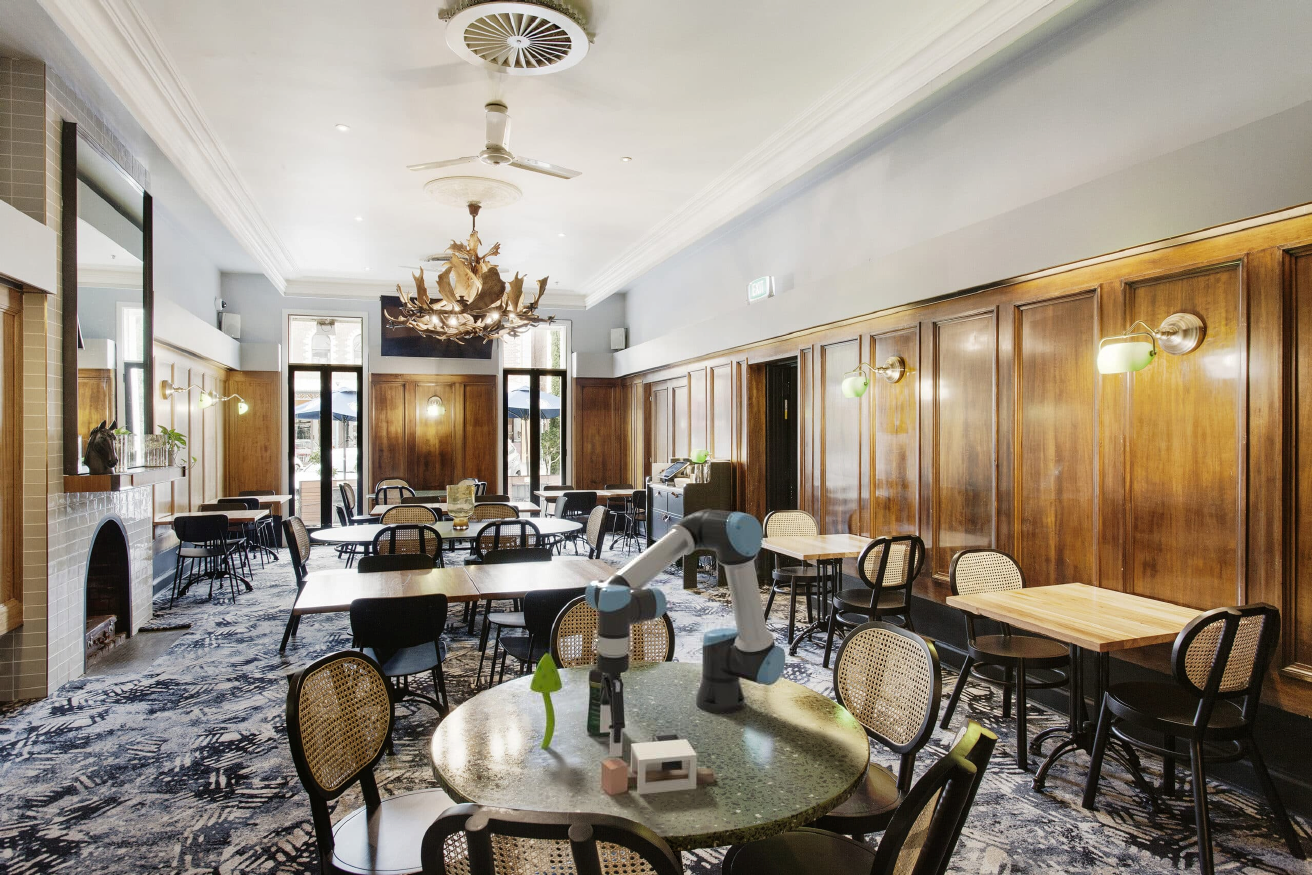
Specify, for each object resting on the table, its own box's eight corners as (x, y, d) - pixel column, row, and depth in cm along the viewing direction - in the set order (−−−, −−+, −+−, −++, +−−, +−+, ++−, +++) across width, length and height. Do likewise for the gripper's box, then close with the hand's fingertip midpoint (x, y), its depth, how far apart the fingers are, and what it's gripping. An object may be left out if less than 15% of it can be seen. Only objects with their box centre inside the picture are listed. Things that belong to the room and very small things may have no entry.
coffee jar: (607, 740, 193) (608, 672, 193) (582, 734, 196) (583, 667, 196) (624, 727, 202) (625, 662, 202) (600, 722, 205) (601, 658, 205)
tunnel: (679, 760, 182) (679, 729, 182) (696, 788, 167) (696, 754, 167) (625, 764, 179) (626, 733, 179) (638, 794, 164) (639, 759, 164)
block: (617, 782, 170) (618, 757, 170) (627, 790, 166) (627, 764, 166) (601, 787, 167) (601, 761, 167) (610, 795, 163) (611, 769, 163)
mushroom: (532, 739, 192) (534, 647, 192) (563, 740, 192) (565, 648, 192) (525, 753, 184) (527, 657, 184) (557, 754, 184) (559, 658, 184)
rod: (711, 778, 173) (711, 768, 173) (713, 783, 171) (713, 773, 171) (621, 782, 170) (621, 772, 170) (622, 787, 168) (622, 777, 168)
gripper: (589, 639, 178) (587, 723, 178) (606, 670, 154) (603, 768, 154) (618, 637, 180) (616, 721, 180) (640, 668, 156) (637, 765, 156)
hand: (610, 743), depth 167 cm, fingers open, 13 cm apart
